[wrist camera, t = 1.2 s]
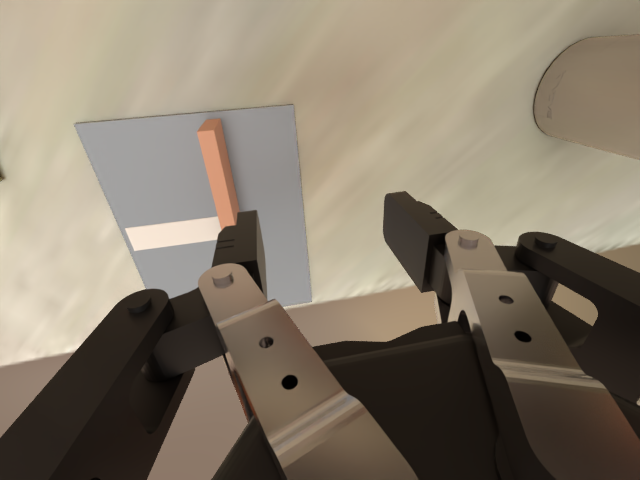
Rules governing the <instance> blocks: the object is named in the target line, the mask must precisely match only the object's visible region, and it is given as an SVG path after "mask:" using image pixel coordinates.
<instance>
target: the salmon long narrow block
mask: <svg viewBox="0 0 640 480" xmlns="http://www.w3.org/2000/svg"><path fill="white" fill-rule="evenodd" d="M197 135H198V139H199V143H200V147H201V151H202V155H203V159H204V163H205V167H206V171H207V175H208V179H209V183H210V187H211V191H212V195H213V199H214V203H215V207H216V211H217V215H218V219H219V223H220V227H221V231H222V229H223V228H224V227H225V226H232V225H236V222H237V213H238V212H240V210H239V205H238V200H237V195H236V191H235V186H234V181H233V176H232V172H231V167H230V162H229V157H228V152H227V148H226V143H225V138H224V133H223V128H222V124H221V119H208V120H205V122H204V123H203V124H202V126H201V127H200V128H199V129H198V131H197Z"/></svg>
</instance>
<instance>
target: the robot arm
mask: <svg viewBox="0 0 640 480" xmlns="http://www.w3.org/2000/svg"><path fill="white" fill-rule="evenodd" d="M534 114H535V119H536V122H537V124H538V126H539V128H540V129H541V130H542V131H543V132H544V133H545V134H548V135H550V136H553V137H556V138H560V139H564V140H568V141H571V142H575V143H579V144H582V145H585V146H589V147H593V148H597V149H600V150H604V151H608V152H612V153H615V154H619V155H623V156H626V157H630V158H634V159H638V160H640V34H637V35H621V36H605V37H590V38H587V39H584V40H581V41H579V42H577V43H575V44H573V45H572V46H570V47H569V48H568V49H566V50H565V51H564V52H563V53H561V54H560V56H559V57H558V58H557V59H556V60H555V61H554V62H553V63H552V65H551V66H550V67H549V69H548V70H547V72H546V73H545V75H544V77H543V79H542V81H541V83H540V85H539V88H538V91H537V94H536V98H535V104H534ZM383 234H384V238H385V241H386V243H387V245H388V246H389V247H390V249H391V250H392V252H393V253H394V255H395V256H396V257H397V259H398V260H399V262H400V263H401V265H402V266H403V267H404V269H405V270H406V272H407V273H408V275H409V276H410V277H411V279H412V280H413V282H414V283H415V284H416V286H417V287H418V289H419V290H420V292H421V293H423V292H429V291H435V292H436V294H435V300H434V305H435V311H436V317H437V323H438V324H435V325H430V326H424V327H421V328H418V329H416V330H413V331H411V332H409V333H407V334H405V335H402V336H400V337H398V338H396V339H393V340H391V341H388V342H367V341H342V342H337V343H331V344H326V345H320V346H315V347H312V346H311V345H310V344H309V342H308V341H307V340H306V338H305V337H304V336H303V334H302V333H301V332H300V330H299V329H298V327H297V326H296V325H295V324H294V322H293V321H292V319H291V318H290V317H289V315H288V314H287V313H286V311H285V310H284V309H283V307H282V306H281V305H280V303H279V302H278V301H277V300H276V299H272V300H269V301H268V300H267V281H266V261H265V252H264V245H263V239H262V234H261V228H260V222H259V217H258V212H257V210H251V211H244V212H238V213H237V222H236V225H232V226H225V227H224V228H223V229H222V231H221V232H220V233H219V234H218V238H217V243H216V247H215V248H216V249H215V252H214V257H213V262H212V267H211V268H210V269H208V270H207V271H205V272H204V273H203V274H202V275H201V276H200V278H199V280H198V286H199V287H197V288H196V289H194V290H192V291H190V292H187V293H185V294H182V295H179V296H176V297H174V298H171V299H169V296H168V294H167V293H166V292H165V291H164V290H161V289H145V290H141V291H138V292H135V293H133V294H131V295H129V296H127V297H125V298H124V299H122V300H121V301H120V302H119V303H117V304H116V305H115V307H114V308H113V309H112V310H111V311H110V312H109V313H108V315H107V316H106V317H105V318H104V319H103V320H102V322H101V323H100V324H99V325H98V326H97V327H96V328H95V330H94V331H93V332H92V333H91V334H90V335H89V336H88V338H87V339H86V340H85V341H84V342H83V343H82V345H81V346H80V347H79V348H78V349H77V350H76V351H75V353H74V354H73V355H72V356H71V357H70V358H69V360H68V361H67V362H66V363H65V364H64V365H63V366H62V368H61V369H60V370H59V371H58V372H57V373H56V375H55V376H54V377H53V378H52V379H51V380H50V381H49V383H48V384H47V385H46V386H45V387H44V388H43V390H42V391H41V392H40V393H39V394H38V395H37V396H36V398H35V399H34V400H33V401H32V402H31V403H30V404H29V406H28V407H27V408H26V409H25V410H24V411H23V412H22V414H21V415H20V416H19V417H18V418H17V419H16V421H15V422H14V423H13V424H12V425H11V426H10V427H9V429H8V430H7V431H6V432H5V433H4V434H3V436H2V437H1V438H0V480H147V478H148V475H149V473H150V471H151V469H152V467H153V464H154V462H155V460H156V458H157V455H158V453H159V451H160V448H161V446H162V444H163V442H164V439H165V437H166V435H167V433H168V430H169V428H170V426H171V423H172V421H173V419H174V417H175V415H176V412H177V410H178V408H179V405H180V403H181V401H182V399H183V396H184V394H185V392H186V390H187V388H188V385H189V383H190V381H191V378H192V376H193V374H194V371H195V367H197V366H200V365H202V364H204V363H206V362H208V361H211V360H213V359H215V358H217V357H219V356H222V358H223V360H224V363H225V365H226V368H227V370H228V373H229V375H230V378H231V380H232V383H233V385H234V387H235V390H236V392H237V395H238V397H239V400H240V403H241V405H242V408H243V411H244V414H245V416H246V419H247V422H248V424H247V426H246V427H245V429H244V431H243V432H242V434H241V435H240V437H239V438H238V440H237V441H236V443H235V444H234V446H233V447H232V449H231V450H230V452H229V454H228V455H227V457H226V458H225V460H224V461H223V463H222V464H221V466H220V467H219V469H218V470H217V472H216V474H215V475H214V477H213V478H212V479H211V480H640V273H638V272H636V271H634V270H632V269H629V268H627V267H625V266H623V265H620V264H618V263H616V262H614V261H611V260H609V259H607V258H605V257H603V256H600V255H598V254H596V253H594V252H591V251H589V250H587V249H585V248H583V247H580V246H578V245H576V244H574V243H571V242H569V241H567V240H565V239H562V238H560V237H558V236H555V235H552V234H548V233H542V232H527V233H524V234H522V235H520V237H519V239H518V242H517V246H495V245H494V244H493V243H492V241H491V239H490V238H489V237H487V236H486V235H484V234H481V233H479V232H476V231H471V230H458V229H457V228H455V227H454V226H453V225H452V224H451V223H450V222H448V221H447V220H446V219H445V218H443V216H441V215H440V214H439V213H437V211H436V210H434V209H433V208H432V207H431V206H429V205H427V204H425V203H422V202H420V201H416V200H415V199H414V198H413V197H411V196H410V195H409V194H408V193H407V192H406V191H403V192H395V193H388V194H386V196H385V201H384V220H383ZM558 283H560V284H562V285H564V286H566V287H567V288H569V289H571V290H573V291H574V292H576V293H578V294H580V295H581V296H583V297H585V298H587V299H588V300H590V301H591V302H592V303H593V304H594V305H595V306H596V308H597V310H598V317H597V320H596V321H595V323H594V325H593V326H591V325H590V324H588V323H586V322H585V321H583V320H581V319H580V318H578V317H576V316H575V315H573V314H572V313H570V312H569V311H567V310H565V309H564V308H562V307H561V306H559V305H557V304H556V303H554V302H553V301H551V300H552V298H553V295H554V293H555V291H556V288H557V286H558Z"/></svg>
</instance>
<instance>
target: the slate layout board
mask: <svg viewBox="0 0 640 480" xmlns="http://www.w3.org/2000/svg"><path fill="white" fill-rule="evenodd" d="M208 119H221V124H222V128H223V133H224V138H225V143H226V148H227V152H228V157H229V162H230V167H231V172H232V176H233V181H234V186H235V191H236V195H237V200H238V205H239V210H240V212H244V211H251V210H257V212H258V217H259V222H260V228H261V234H262V239H263V245H264V252H265V261H266V281H267V300H268V301H269V300H272V299H276V300H277V301H278V302H279V303H280V305H281V306H282V307H284V306H290V305H297V304H303V303H309V302H312V296H311V285H310V274H309V264H308V253H307V242H306V232H305V221H304V210H303V199H302V189H301V178H300V167H299V157H298V146H297V135H296V124H295V114H294V105H293V104H291V105H279V106H268V107H256V108H245V109H233V110H222V111H210V112H199V113H187V114H176V115H164V116H153V117H141V118H130V119H118V120H107V121H95V122H84V123H76V124H74V126H75V128H76V131H77V133H78V135H79V138H80V140H81V142H82V144H83V147H84V149H85V151H86V153H87V156H88V158H89V160H90V163H91V165H92V167H93V169H94V172H95V174H96V176H97V178H98V181H99V183H100V185H101V188H102V190H103V192H104V194H105V197H106V199H107V201H108V203H109V206H110V208H111V210H112V213H113V215H114V217H115V219H116V222H117V224H118V226H119V228H120V231H121V233H122V235H123V238H124V240H125V242H126V244H127V247H128V249H129V251H130V253H131V256H132V258H133V260H134V263H135V265H136V267H137V269H138V272H139V274H140V276H141V278H142V281H143V283H144V285H145V288H146V289H161V290H164V291H165V292H166V293H167V294H168V296H169V299H171V298H174V297H176V296H179V295H182V294H185V293H187V292H190V291H192V290H194V289H196V288H197V287H199V286H198V280H199V278H200V276H201V275H202V274H203V273H204V272H205V271H207V270H208V269H210V268H211V267H212V262H213V257H214V252H215V249H216V248H215V247H216V243H217V238H218V234H219V233H220V232H221V227H220V223H219V219H218V215H217V211H216V207H215V203H214V199H213V195H212V191H211V187H210V183H209V179H208V175H207V171H206V167H205V163H204V159H203V155H202V151H201V147H200V143H199V139H198V135H197V131H198V129H199V128H200V127H201V126H202V124H203V123H204V122H205V120H208Z"/></svg>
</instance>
